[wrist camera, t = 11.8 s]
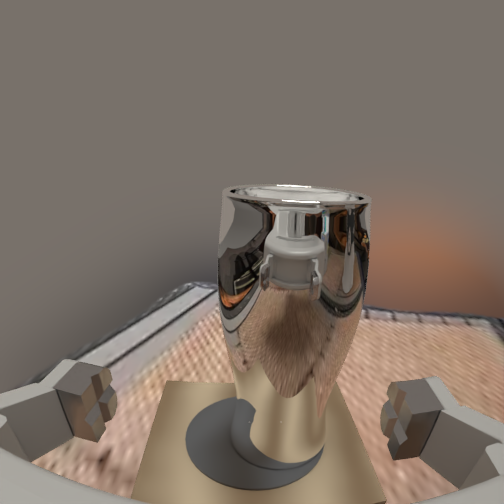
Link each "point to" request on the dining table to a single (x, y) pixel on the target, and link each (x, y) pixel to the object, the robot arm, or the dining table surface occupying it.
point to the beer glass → (289, 310)
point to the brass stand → (235, 466)
